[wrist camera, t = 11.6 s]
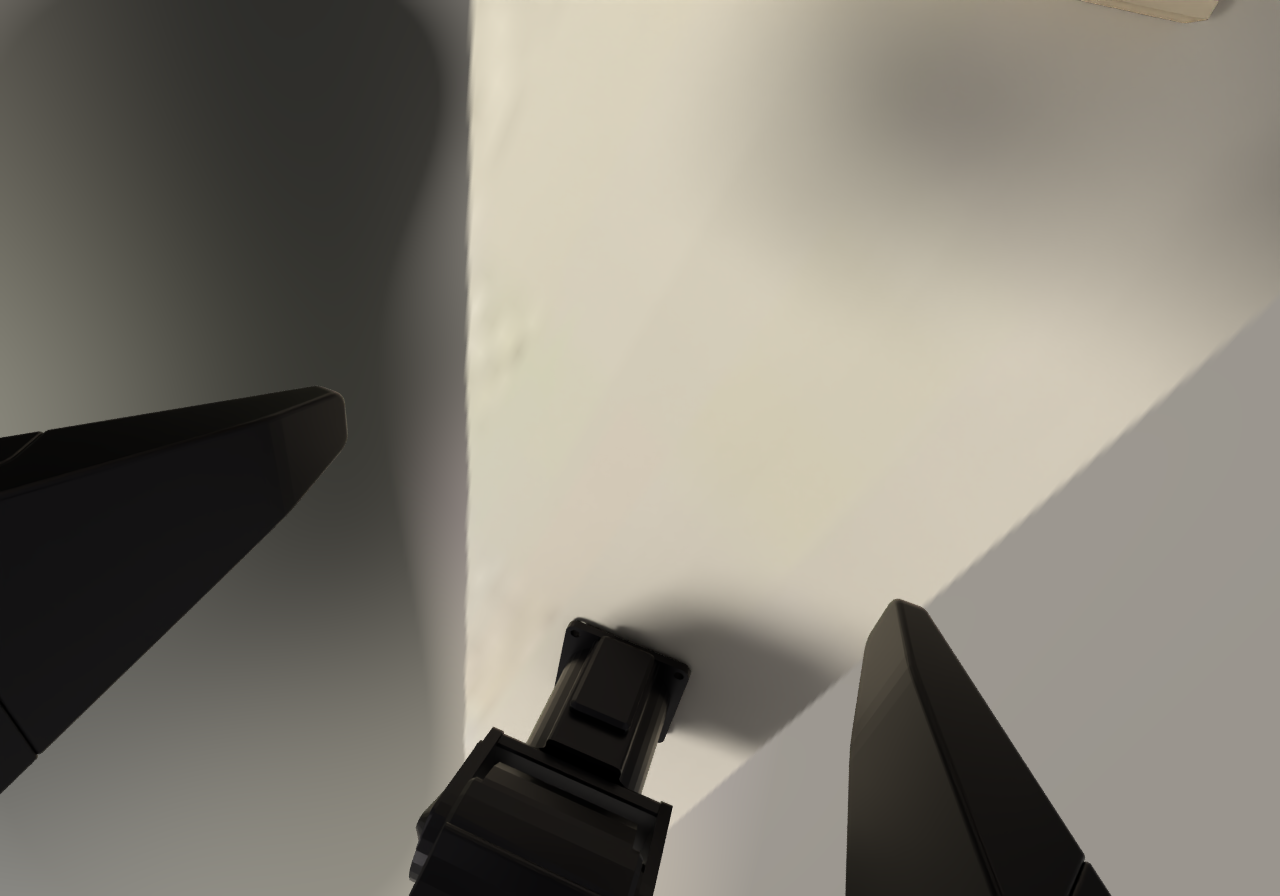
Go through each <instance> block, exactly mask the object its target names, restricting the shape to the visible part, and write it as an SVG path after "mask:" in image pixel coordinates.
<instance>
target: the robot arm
mask: <svg viewBox="0 0 1280 896" xmlns="http://www.w3.org/2000/svg"><path fill="white" fill-rule="evenodd" d="M347 436H348V434H347V422H346V411H345V402H344V399H343V397H342V395H340V394H339V393H338V392H335V391H332V390H330V389H327V388H324V387H321V386H311V387H304V388H298V389H292V390H286V391H280V392H274V393H268V394H263V395H257V396H250V397H244V398H238V399H232V400H226V401H220V402H214V403H208V404H202V405H196V406H190V407H184V408H178V409H172V410H166V411H160V412H153V413H147V414H141V415H136V416H129V417H123V418H117V419H111V420H106V421H99V422H93V423H87V424H82V425H75V426H69V427H63V428H58V429H51V430H47V431H45V432H44V433H42V432H39V431H38V432H32V433H26V434H20V435H14V436H8V437H2V438H0V794H1V793H2V792H3V791H4V790H5V789H6V788H7V787H8V786H9V785H10V784H11V783H12V782H13V781H14V780H15V779H16V778H17V777H18V776H19V775H20V774H21V773H22V772H23V771H25V770H26V769H27V767H28V766H30V765H31V764H32V763H33V762H34V760H36V759H37V757H38V755H37V754H41V753H43V752H44V751H45V750H46V748H48V747H49V746H50V745H51V744H52V743H53V742H54V741H55V740H56V739H57V738H58V737H59V736H60V735H61V734H62V733H63V732H64V731H65V730H66V729H67V728H68V727H69V726H70V725H72V724H73V723H74V722H75V721H76V720H77V719H78V718H79V717H80V716H81V715H82V714H83V713H84V712H85V711H86V710H87V709H88V708H89V707H90V706H91V705H92V704H93V703H94V702H95V701H96V700H97V699H98V698H99V697H100V696H101V695H102V694H103V693H104V692H106V691H107V690H108V689H109V688H110V687H111V686H112V685H113V684H114V683H115V682H116V681H117V680H118V679H119V678H120V677H121V676H122V675H123V674H124V673H125V672H126V671H127V670H128V669H129V668H130V667H131V666H132V665H133V664H134V663H136V662H137V661H138V660H139V659H140V658H141V657H142V656H143V655H144V654H145V653H146V652H147V651H148V650H149V649H150V648H151V647H152V646H153V645H154V644H155V643H156V642H157V641H158V640H159V639H160V638H161V637H162V636H163V635H164V634H165V633H166V632H168V631H169V630H170V629H171V627H173V626H174V625H175V624H176V623H177V622H178V621H179V620H180V619H181V618H182V617H183V616H184V615H185V614H186V613H187V612H188V611H189V610H190V609H191V608H192V607H193V606H194V605H195V604H196V603H197V602H198V601H199V600H201V599H202V598H203V597H204V596H205V595H206V594H207V593H208V592H209V591H210V590H211V589H212V588H213V587H214V586H215V585H216V584H217V583H218V582H219V581H220V580H221V579H222V578H223V577H224V576H225V575H226V574H227V573H228V572H229V571H230V570H232V568H234V567H235V566H236V565H237V564H238V563H239V562H240V561H241V560H242V559H243V558H244V557H245V556H246V555H247V554H248V553H249V552H250V551H251V550H252V549H253V548H254V547H255V546H256V545H257V544H258V543H259V542H260V541H261V540H262V539H264V538H265V537H266V536H267V535H268V534H269V532H271V531H272V530H273V529H274V528H275V527H276V526H277V525H278V524H279V523H280V522H281V521H282V520H283V519H284V518H285V517H286V516H287V514H288V513H289V512H290V511H291V510H292V509H293V508H294V506H295V505H296V504H297V503H298V502H299V501H300V500H301V498H302V497H303V496H304V495H305V493H306V492H307V491H308V490H309V489H310V488H311V486H312V485H313V484H314V483H315V482H316V480H317V479H318V478H319V477H320V475H322V473H323V472H324V471H325V470H326V468H327V467H328V466H329V465H330V464H331V462H332V461H333V460H334V459H335V458H336V456H337V455H338V454H339V453H340V452H341V451H342V449H343V448H344V446H345V444H346V441H347ZM690 673H691V671H690V668H689V667H688V666H687V665H685V664H683V663H681V662H678V661H676V660H674V659H671V658H669V657H666V656H664V655H661V654H659V653H656V652H654V651H651V650H649V649H646V648H644V647H641V646H639V645H636V644H634V643H631V642H629V641H627V640H624V639H622V638H619V637H617V636H614V635H612V634H609V633H607V632H604V631H602V630H599V629H597V628H594V627H592V626H589V625H587V624H585V623H582V622H580V621H571V622H570V624H569V625H568V627H567V629H566V633H565V638H564V643H563V647H562V652H561V657H560V662H559V667H558V672H557V677H556V682H555V687H554V690H553V692H552V694H551V695H550V697H549V699H548V701H547V703H546V705H545V707H544V709H543V711H542V713H541V715H540V717H539V719H538V721H537V723H536V725H535V727H534V729H533V731H532V733H531V735H530V737H529V739H528V741H527V742H526V743H524V742H521V741H519V740H517V739H515V738H512V737H510V736H508V735H506V734H504V731H502V730H500V729H497V728H495V727H493V728H492V729H491V730H490V732H489V733H488V734H487V736H486V737H485V739H484V740H483V741H482V740H480V741H479V743H477V745H476V746H475V748H474V750H473V751H472V752H471V754H470V755H469V757H468V758H467V759H466V761H465V762H464V764H463V765H462V767H461V768H460V769H459V771H458V772H457V773H456V775H455V776H454V778H453V779H452V780H451V782H450V783H449V784H448V786H447V787H446V789H445V790H444V791H443V792H442V793H441V794H440V796H439V797H438V798H437V799H436V800H435V801H434V802H433V803H432V804H431V805H430V806H429V807H428V808H427V809H426V810H425V811H424V813H423V814H422V815H421V817H420V819H419V821H418V823H417V826H416V830H417V835H418V840H419V842H418V844H417V848H416V852H415V855H414V857H413V860H412V864H411V867H410V872H409V878H410V880H411V881H413V882H415V884H414V886H413V888H412V890H411V892H410V894H409V896H653V892H654V889H655V884H656V880H657V875H658V870H659V866H660V862H661V857H662V853H663V848H664V844H665V839H666V835H667V830H668V826H669V821H670V817H671V812H672V808H673V806H672V805H670V804H667V803H665V802H663V801H661V803H659V802H657V801H655V800H653V799H650V798H648V797H646V796H644V795H641V793H642V790H643V787H644V783H645V780H646V777H647V774H648V771H649V768H650V765H651V761H652V758H653V755H654V752H655V749H656V746H657V743H661V742H663V741H664V739H665V736H666V734H667V731H668V729H669V726H670V724H671V722H672V719H673V717H674V714H675V712H676V709H677V707H678V704H679V702H680V700H681V697H682V695H683V692H684V690H685V687H686V685H687V682H688V680H689V677H690ZM848 791H849V792H848V825H847V859H846V896H1111V894H1110V893H1109V891H1108V890H1107V888H1106V887H1105V885H1104V884H1103V882H1102V881H1101V879H1100V878H1099V876H1098V875H1097V873H1096V871H1095V870H1094V868H1093V867H1092V865H1091V864H1090V863H1088V862H1084V860H1085V855H1084V853H1083V852H1082V850H1081V849H1080V847H1079V846H1078V844H1077V842H1076V841H1075V839H1074V838H1073V836H1072V835H1071V833H1070V832H1069V830H1068V829H1067V827H1066V826H1065V824H1064V822H1063V821H1062V819H1061V818H1060V816H1059V815H1058V813H1057V812H1056V810H1055V808H1054V807H1053V805H1052V804H1051V802H1050V801H1049V799H1048V798H1047V796H1046V795H1045V793H1044V791H1043V790H1042V788H1041V787H1040V785H1039V784H1038V782H1037V781H1036V779H1035V778H1034V776H1033V775H1032V773H1031V771H1030V770H1029V768H1028V767H1027V765H1026V764H1025V762H1024V761H1023V759H1022V757H1021V756H1020V754H1019V753H1018V752H1017V750H1016V748H1015V747H1014V745H1013V744H1012V742H1011V741H1010V739H1009V738H1008V736H1007V734H1006V733H1005V731H1004V730H1003V728H1002V727H1001V725H1000V724H999V722H998V720H997V719H996V717H995V716H994V714H993V713H992V711H991V710H990V708H989V707H988V705H987V704H986V702H985V700H984V699H983V698H982V696H981V694H980V693H979V691H978V690H977V688H976V687H975V685H974V683H973V682H972V680H971V679H970V677H969V676H968V674H967V673H966V671H965V669H964V668H963V666H962V665H961V663H960V662H959V660H958V659H957V657H956V656H955V654H954V653H953V651H952V649H951V648H950V646H949V645H948V643H947V642H946V640H945V639H944V637H943V636H942V634H941V632H940V631H939V629H938V628H937V626H936V625H935V623H934V622H933V620H932V619H931V617H930V615H929V614H928V612H927V611H926V610H925V609H924V608H922V607H920V606H918V605H915V604H912V603H910V602H907V601H904V600H901V599H894V600H893V601H892V602H890V604H889V605H888V606H887V608H886V609H885V611H884V613H883V614H882V616H881V617H880V619H879V620H878V622H877V623H876V625H875V627H874V628H873V630H872V631H871V633H870V635H869V637H868V639H867V642H866V646H865V650H864V657H863V664H862V670H861V677H860V683H859V690H858V697H857V703H856V709H855V716H854V723H853V729H852V737H851V744H850V761H849V790H848Z"/></svg>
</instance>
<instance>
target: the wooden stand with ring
mask: <svg viewBox="0 0 1280 896" xmlns="http://www.w3.org/2000/svg"><path fill="white" fill-rule="evenodd" d="M1080 1H1084V2H1089V3H1094V4H1098V5H1103V6H1107V7H1112V8H1117V9H1121V10H1126V11H1130V12H1135V13H1140V14H1144V15H1149V16H1153V17H1158V18H1163V19H1167V20H1172V21H1176V22H1181V23H1189V22H1196V21H1203V20H1208V18H1209V16H1210V15H1211V13H1212V11H1213V10H1214V8H1215V6H1216V5H1217V3H1218V1H1219V0H1080Z"/></svg>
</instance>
